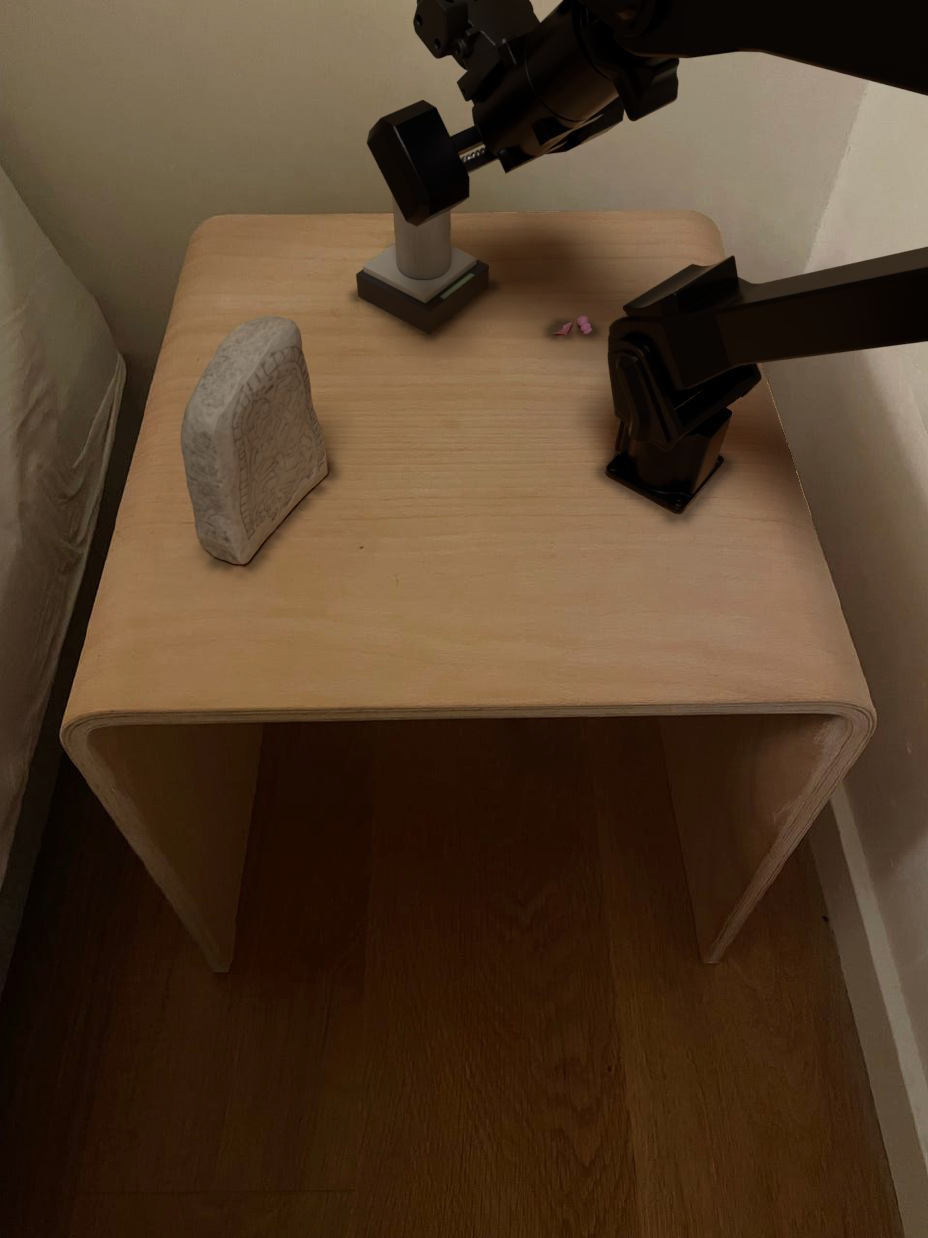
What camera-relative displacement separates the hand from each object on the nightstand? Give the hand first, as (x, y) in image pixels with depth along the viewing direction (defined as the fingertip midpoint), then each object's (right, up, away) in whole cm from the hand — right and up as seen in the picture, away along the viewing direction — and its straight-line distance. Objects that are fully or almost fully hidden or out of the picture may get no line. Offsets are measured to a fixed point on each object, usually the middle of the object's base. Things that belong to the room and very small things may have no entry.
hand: (446, 174), depth 67 cm
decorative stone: (-13, -25, -3) cm, 28 cm away
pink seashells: (+10, -9, +9) cm, 16 cm away
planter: (-2, -3, +9) cm, 10 cm away
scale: (-2, -5, +11) cm, 12 cm away
